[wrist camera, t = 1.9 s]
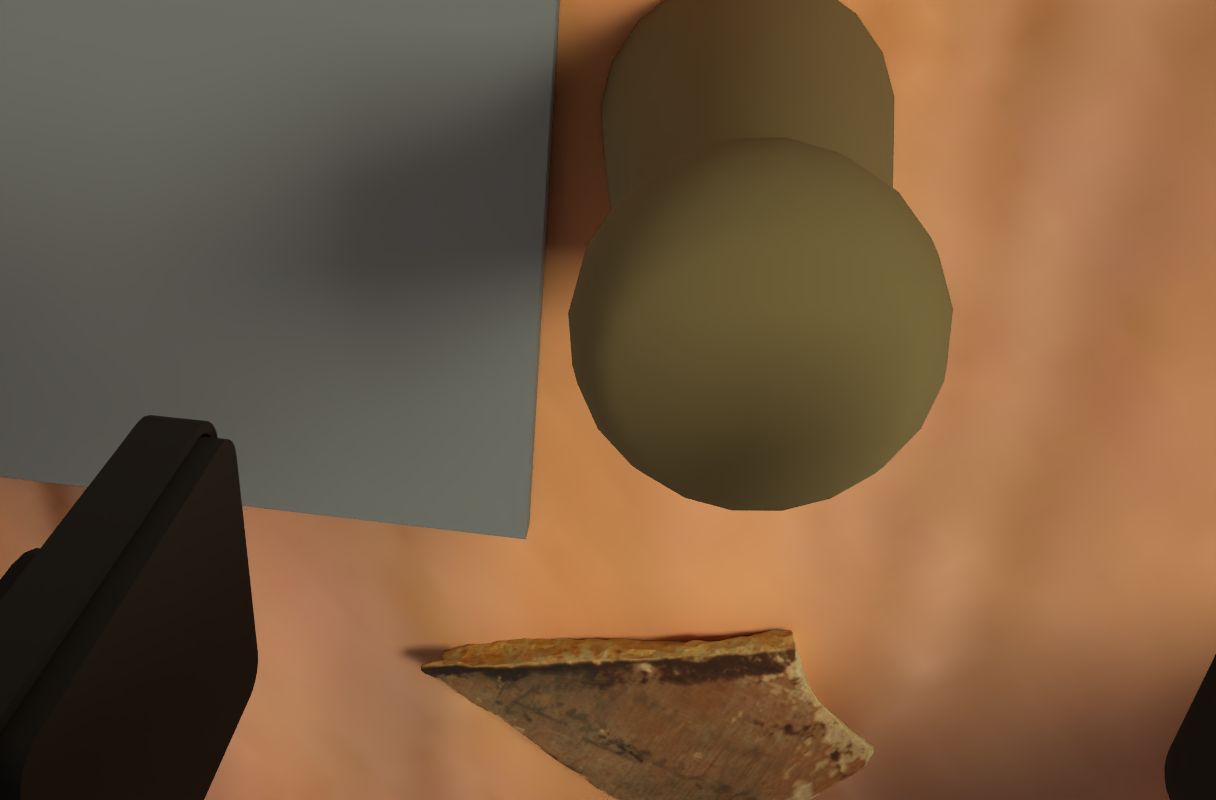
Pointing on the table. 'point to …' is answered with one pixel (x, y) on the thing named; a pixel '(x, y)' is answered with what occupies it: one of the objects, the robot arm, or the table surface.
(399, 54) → the slate mat
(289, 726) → the table surface
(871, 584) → the table surface
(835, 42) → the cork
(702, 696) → the shard
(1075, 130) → the table surface
